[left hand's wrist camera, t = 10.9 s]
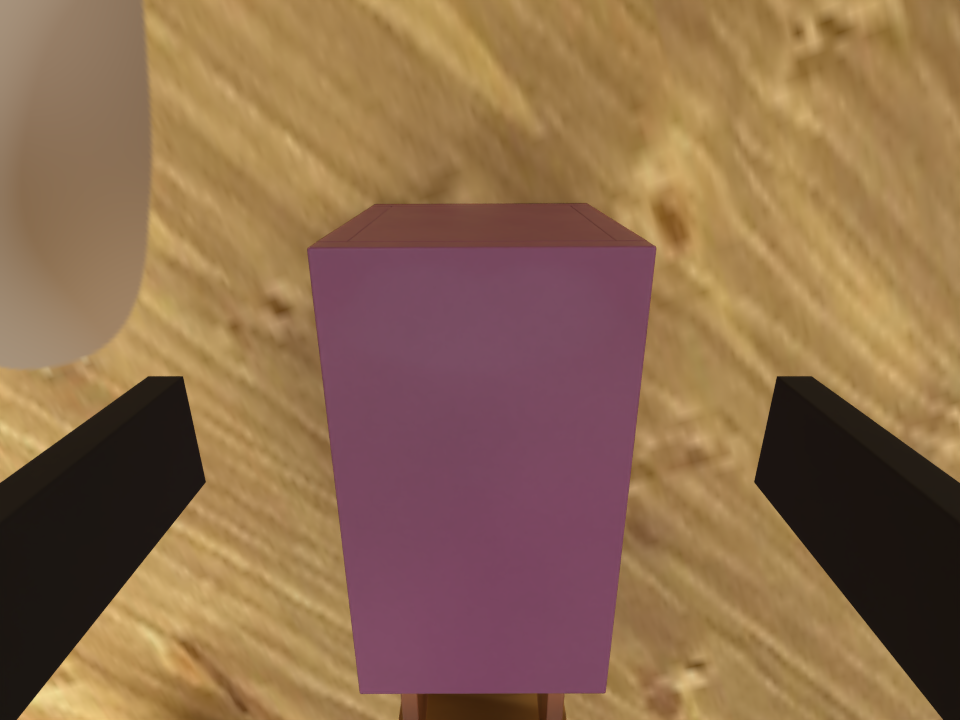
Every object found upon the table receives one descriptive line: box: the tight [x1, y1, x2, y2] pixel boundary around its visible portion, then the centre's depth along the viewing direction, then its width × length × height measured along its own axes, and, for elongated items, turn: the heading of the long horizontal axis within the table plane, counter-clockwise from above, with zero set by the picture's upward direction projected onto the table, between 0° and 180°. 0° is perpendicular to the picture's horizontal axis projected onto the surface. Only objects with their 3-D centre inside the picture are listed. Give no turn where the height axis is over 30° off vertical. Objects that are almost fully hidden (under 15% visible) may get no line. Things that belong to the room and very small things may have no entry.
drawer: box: [399, 693, 566, 720], centre depth 31 cm, size 24×10×10 cm, turn 0°
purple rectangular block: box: [307, 203, 656, 694], centre depth 26 cm, size 20×11×12 cm, turn 0°
